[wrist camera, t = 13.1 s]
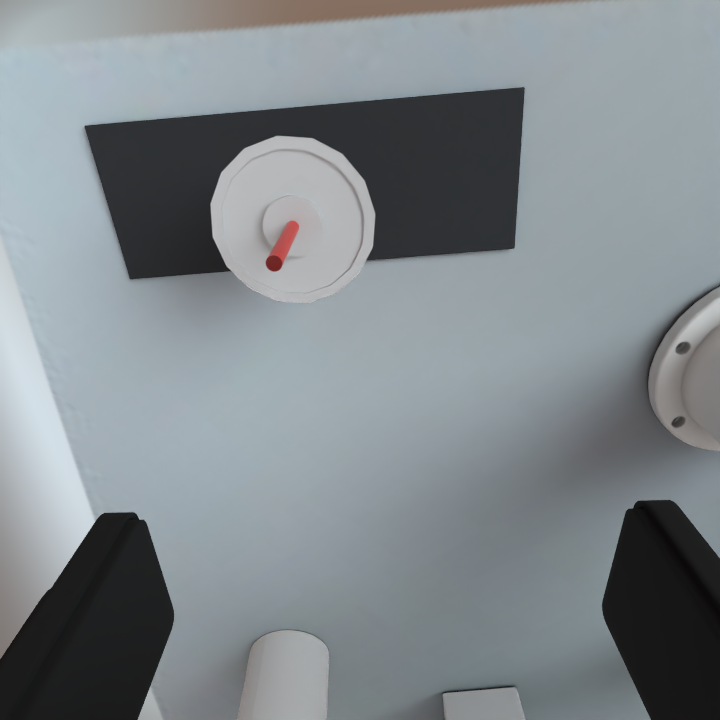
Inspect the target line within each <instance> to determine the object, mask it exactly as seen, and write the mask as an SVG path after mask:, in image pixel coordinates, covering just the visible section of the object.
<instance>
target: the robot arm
mask: <svg viewBox="0 0 720 720" xmlns="http://www.w3.org/2000/svg"><path fill="white" fill-rule="evenodd" d="M648 390H649V400H650V403H651V405H652V408H653V411H654V413H655V415H656V416H657V417H658V419H659V420H660V422H661V423H662V424H663V425H664V426H665V427H666V428H667V429H668V430H669V431H670V432H671V433H672V434H673V435H674V436H675V437H677V438H678V439H680V440H681V441H683V442H685V443H686V444H689V445H692V446H694V447H697V448H700V449H706V450H712V451H720V287H718V288H716V289H714V290H713V291H711V292H710V293H708V294H707V295H706V296H704V297H703V298H701V299H700V300H699V301H697V302H696V303H695V304H693V305H692V306H691V307H690V308H689V309H688V310H687V311H686V312H685V313H684V314H683V315H682V316H681V317H680V318H679V319H678V320H677V321H676V322H675V324H674V325H673V326H672V327H671V329H670V330H669V331H668V332H667V334H666V335H665V337H664V339H663V340H662V342H661V344H660V346H659V347H658V349H657V351H656V353H655V356H654V359H653V362H652V365H651V368H650V374H649V381H648ZM602 610H603V615H604V619H605V622H606V624H607V626H608V629H609V631H610V633H611V635H612V637H613V639H614V641H615V644H616V646H617V648H618V650H619V652H620V654H621V656H622V658H623V661H624V663H625V665H626V667H627V669H628V671H629V673H630V676H631V678H632V680H633V682H634V684H635V686H636V688H637V691H638V693H639V695H640V697H641V699H642V701H643V703H644V706H645V708H646V710H647V712H648V714H649V716H650V718H651V720H720V558H719V557H718V556H717V554H716V553H715V552H714V551H713V549H712V548H711V547H710V546H709V544H708V543H707V542H706V541H705V539H704V538H703V537H702V535H701V534H700V533H699V532H698V530H697V529H696V528H695V527H694V525H693V524H692V523H691V522H690V520H689V519H688V518H687V517H686V515H685V514H684V513H683V511H682V510H681V509H680V508H679V506H678V505H677V504H676V503H675V502H673V501H671V500H650V501H637V502H636V503H635V505H634V508H633V509H628V510H627V511H626V513H625V517H624V521H623V525H622V529H621V532H620V536H619V540H618V544H617V548H616V552H615V555H614V559H613V563H612V567H611V571H610V575H609V579H608V582H607V586H606V590H605V594H604V598H603V602H602ZM173 621H174V610H173V606H172V603H171V600H170V596H169V593H168V590H167V587H166V584H165V580H164V577H163V574H162V571H161V568H160V565H159V561H158V558H157V555H156V552H155V549H154V545H153V542H152V539H151V536H150V533H149V530H148V526H147V524H146V522H145V521H144V520H139V518H138V516H137V514H135V513H133V512H127V513H104V514H102V515H100V516H99V518H98V519H97V520H96V522H95V523H94V525H93V526H92V528H91V529H90V531H89V532H88V534H87V535H86V537H85V538H84V540H83V541H82V543H81V544H80V546H79V547H78V549H77V550H76V552H75V553H74V555H73V556H72V558H71V559H70V561H69V562H68V564H67V565H66V567H65V568H64V570H63V572H62V573H61V575H60V576H59V577H58V579H57V580H56V582H55V583H54V585H53V587H52V588H51V589H49V590H48V591H47V592H46V593H45V595H44V596H43V597H42V598H41V600H40V601H39V603H38V604H37V605H36V607H35V609H34V610H33V612H32V613H31V615H30V616H29V617H28V619H27V620H26V622H25V623H24V625H23V626H22V628H21V629H20V631H19V632H18V634H17V635H16V637H15V638H14V640H13V641H12V643H11V644H10V646H9V647H8V649H7V650H6V652H5V653H4V655H3V656H2V658H1V659H0V720H137V719H138V717H139V714H140V712H141V709H142V706H143V704H144V701H145V698H146V696H147V693H148V690H149V688H150V685H151V683H152V680H153V677H154V675H155V672H156V669H157V667H158V664H159V662H160V659H161V656H162V654H163V651H164V648H165V646H166V643H167V640H168V638H169V635H170V632H171V630H172V626H173Z"/></svg>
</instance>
